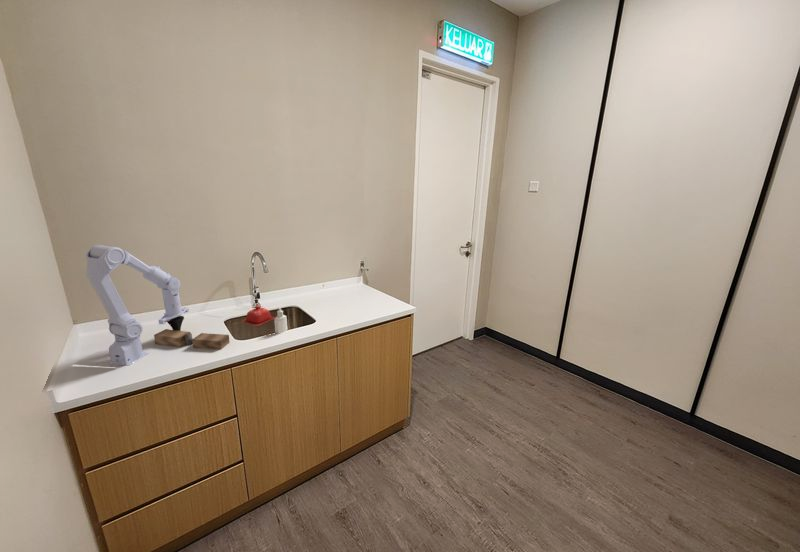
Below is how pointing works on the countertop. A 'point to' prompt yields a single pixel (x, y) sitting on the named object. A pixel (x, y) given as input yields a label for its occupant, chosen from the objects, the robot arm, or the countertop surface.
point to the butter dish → (258, 316)
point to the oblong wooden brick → (210, 341)
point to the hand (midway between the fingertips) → (177, 333)
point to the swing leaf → (173, 338)
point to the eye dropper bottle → (280, 322)
